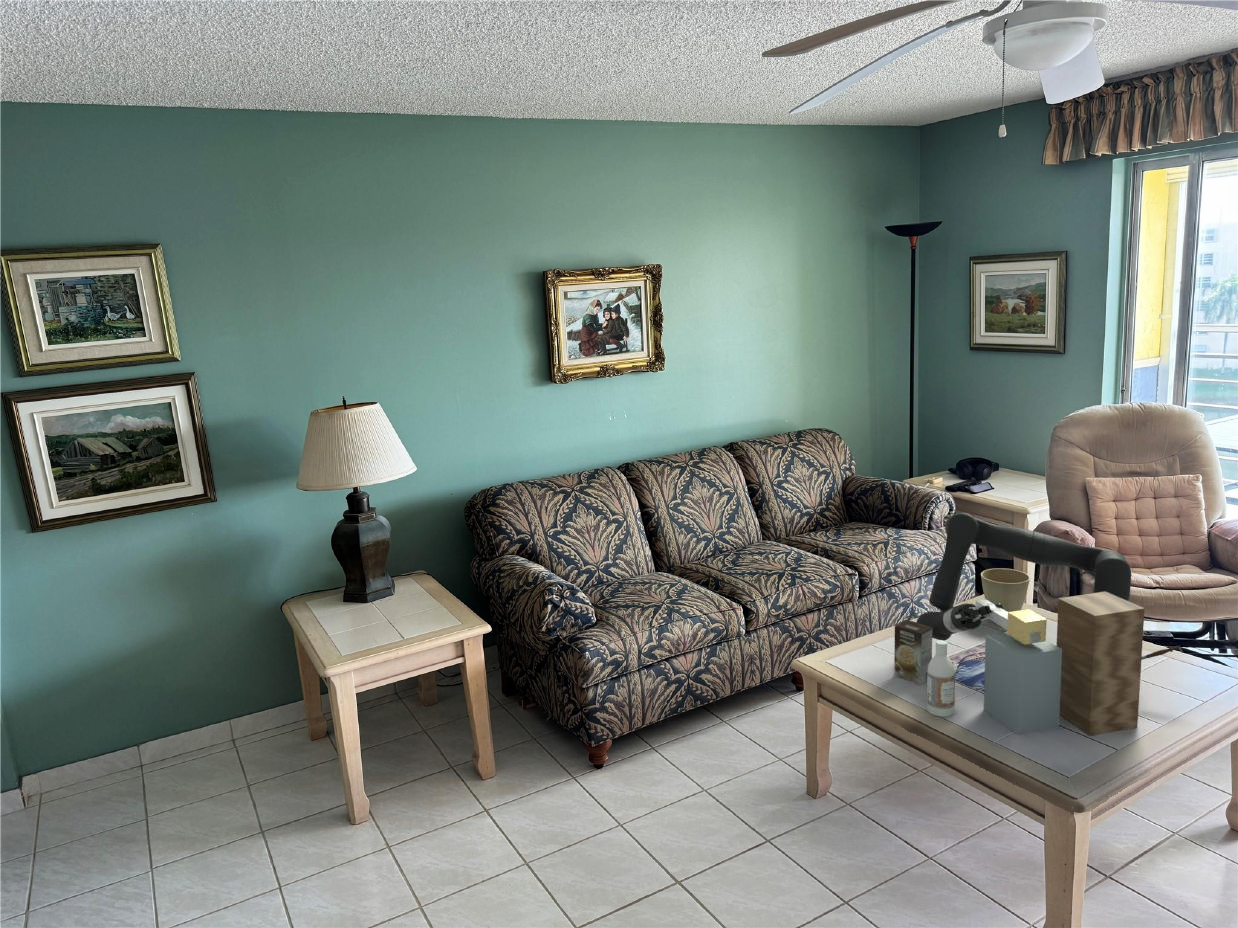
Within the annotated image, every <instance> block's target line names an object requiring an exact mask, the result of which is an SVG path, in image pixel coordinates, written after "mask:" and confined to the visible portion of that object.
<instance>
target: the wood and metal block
mask: <svg viewBox="0 0 1238 928" xmlns="http://www.w3.org/2000/svg"><path fill="white" fill-rule="evenodd" d="M974 605H975V607H983V606H986V605H989V606H990V610H991V613H990V614H986V615H983V616H985V617H986V619H988V620H990V621H992V623H995V624H996V625H998V626H999V627H1001V628H1003V629H1004V630H1006V632H1007V634H1008V635H1010V636H1011V637H1013V638H1014V639H1016V640H1018V641H1019V642H1021V643H1023V644H1024V645H1025V644H1032V643H1038V642H1045V641H1046V640H1047V639H1046V638H1047V637H1046V636H1047V618H1046V617H1044V616H1043V615H1042V616H1041V615H1040V614H1037V612H1035V611H1033V610H1031V609H1028V608H1027V609H1021V610H1020V611H1013V612H1007V611H1005V610H1003V609H1001V608H999V607H998V606H996V605H994V604H993V603H991V602H989V601H987V600H986V599H985V598H984V599H977V600H975V604H974Z"/></svg>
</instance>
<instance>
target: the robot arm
mask: <svg viewBox="0 0 1238 928" xmlns="http://www.w3.org/2000/svg"><path fill="white" fill-rule="evenodd" d="M944 529H945V533H946V541H945V547H944V551H943V552H944V554H943V556H942V560H941V563H940V565H939V568H938V571H937V573H936V576H935V578H934V581H933V586H932V588H931V593H930V596H929V600H928V601H929V604H930V605H931V606H932V607H934V608H936V609H938V610H939V611H927V612H924V613H921V614H920V616H919V617H918V618H917V620H916V623H920V624H923V625H926V626H929V627H932V628H933V631H932V639H934V640H937V641H938V640H943V641H948V640H949V639H950V638H951V636H952V635H954V634H959V633H965V632H969V631H972V630H976V629H977V628H979V627H980V626H981V624H982V622H983V621H986V619H987V618H986V617H985V616H983V615H986V614H990V613H991V610H990V606H989V605H986V606H983V607H975V605H976V604H975V603H971V602H965V603H964V602H963V603H962V604H958V605H955V606H954V604H955V601H956V597H957V592H958V590H959V585H960V580H961V577H962V572H963V568H964V565H965V562H966V558H967V556H968V553H969V551H970V548H971V546H972V545H976V546H977V545H978V546H982V547H986V548H990V549H991V550H992V549H993V550H996V551H997V552H999V553H1003V554H1005V555H1007V556H1011V557H1013V558H1016V559H1020V560H1021V561H1026V562H1029V563H1032V564H1037V565H1041V566H1047V567H1048V566H1049V567H1050V566H1051V567H1057V566H1058V567H1069V568H1074V569H1079V570H1081V571H1084V572H1087V573H1090V574H1093V575H1094V580H1093V581H1094V583H1093V593H1098V592H1105V591H1106V592H1108V593H1110V594H1113V595H1115V596H1117V597H1119V598H1122V599H1124V600H1126V601H1129V602H1130V597H1131V596H1130V595H1131V586H1132V585H1131V584H1132V569H1131V565H1130V564H1129V562H1128V561H1127V558H1126V557H1125V556H1124V555H1123V554H1122V553H1120V552H1119V551H1115V550H1113V549H1108V548H1107V549H1106V548H1102V547H1096V546H1095V547H1094V546H1089V545H1083V544H1079V543H1077V542H1076V543H1075V542H1073V541H1069V540H1066V539H1064V538H1059V537H1056V536H1053V535H1049V534H1046V533H1042V532H1038V531H1035V530H1031V529H1026V528H1021V527H1015V526H1005V525H1001V524H1000V525H999V524H994V523H991V522H988V521H985V520H982V519H980V518H977V517H974V516H973V515H971V514H969V513H967V512H956V513H953V514H951V515H950V516H949V517H948V518H947V519H946V521H945V523H944ZM995 605H996V606H998V607H999V608H1001V609H1003V607H1002V605H1001V604H995Z"/></svg>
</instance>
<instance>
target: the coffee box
mask: <svg viewBox="0 0 1238 928" xmlns="http://www.w3.org/2000/svg"><path fill="white" fill-rule="evenodd" d="M932 631H933V628H932V627H929V626H926V625H923V624H920V623H916V622H915V621H913V620H910V619H907V618H906V619H904V620H903V621H900V622H899V623H897V624H895V625H894V653H893V655H894V657H893V658H894V659H893V660H894V662H893V663H894V667H893V668H894V670H893V671H894V672H893V673H894V674H893V675H894V676H895V677H896V678H900V679H902V680H905V681H908V682H911V683H915V684H917V685H919V686H920V685H922V684H924V683H927V670H928V665H929V662H930V661H931V659H932V658H933V638H932Z"/></svg>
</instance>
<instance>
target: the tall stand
mask: <svg viewBox="0 0 1238 928" xmlns="http://www.w3.org/2000/svg"><path fill="white" fill-rule="evenodd" d="M1057 603H1058V604H1057V622H1056V623H1057V627H1056V628H1057V629H1056V646H1057V647H1059V648H1061V649H1062V664H1061V688H1060V713H1059V718H1061V719H1063V720H1064V721H1066V722H1067V723H1069V724H1070V725H1072V726H1073V727H1075V728H1077V729H1078V730H1079V731H1081V732H1083V733H1084V734H1085V735H1087V737H1088V736H1089V737H1092V736H1097V735H1102V734H1110V733H1116V732H1121V731H1124V730H1130V729H1135V728H1138V726H1139V725H1138V722H1139V721H1138V720H1139V710H1140V709H1139V708H1140V707H1139V706H1140V705H1139V703H1140V693H1141V692H1140V690H1141V674H1142V672H1141V671H1142V660H1141V659H1142V656H1143V641H1144V640H1143V639H1144V627H1145V626H1144V623H1145V607H1142V606H1141V605H1138V604H1135V603H1134V602H1131V601H1130V600H1129V601H1126V600H1124V599H1122V598H1119V597H1117V596H1115V595H1113V594H1110V593H1108V592H1106V591H1105V592H1098V593H1094V592H1092V593H1085V594H1081V595H1073V596H1066V597H1058V599H1057Z"/></svg>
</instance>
